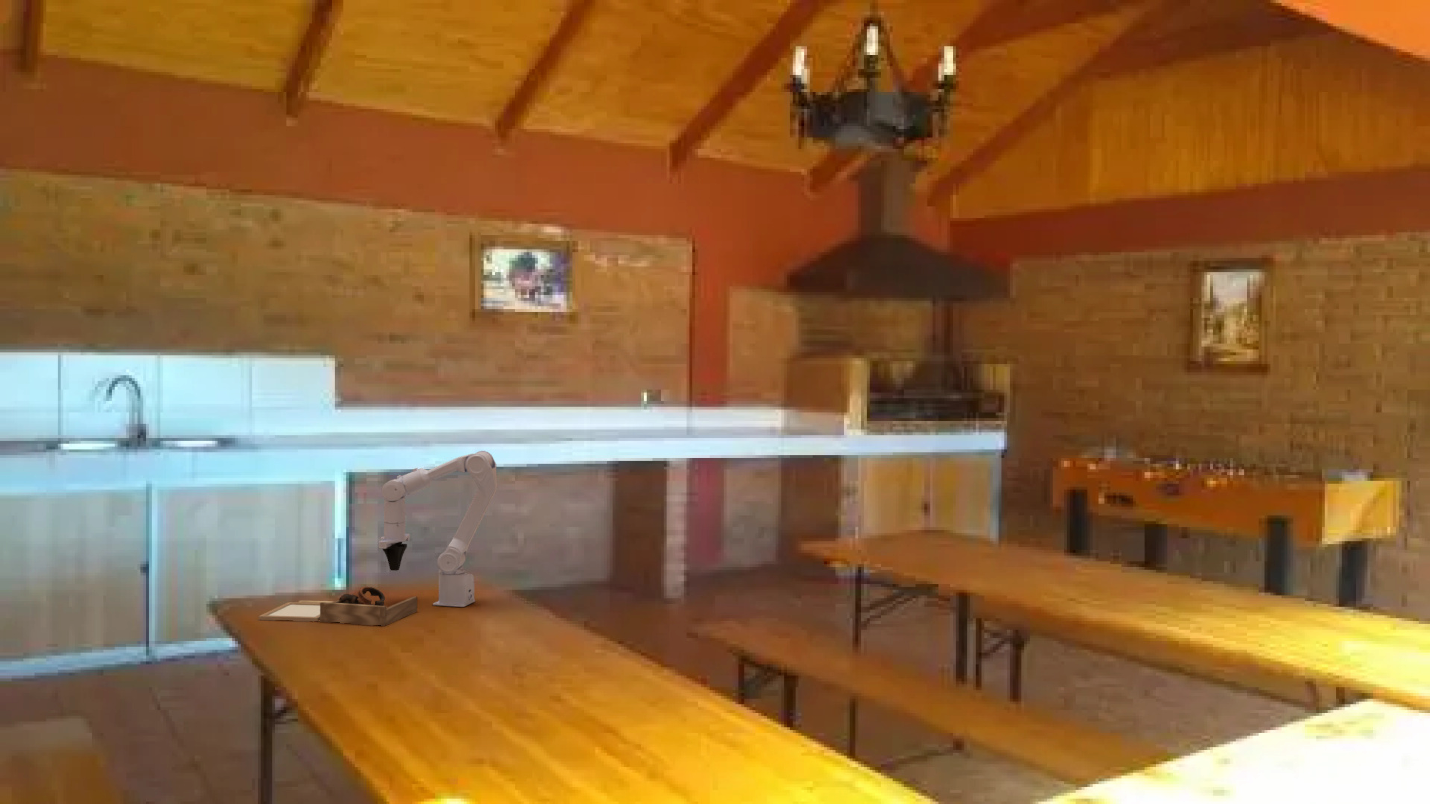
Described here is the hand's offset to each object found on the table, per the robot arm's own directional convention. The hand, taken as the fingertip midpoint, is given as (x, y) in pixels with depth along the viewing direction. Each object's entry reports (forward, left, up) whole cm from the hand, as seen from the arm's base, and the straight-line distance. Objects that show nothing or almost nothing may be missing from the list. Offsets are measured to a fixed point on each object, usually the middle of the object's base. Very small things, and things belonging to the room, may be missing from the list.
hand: (394, 570), depth 317 cm
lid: (+18, +17, -9) cm, 26 cm away
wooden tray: (-2, +16, -9) cm, 19 cm away
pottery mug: (+2, +15, -10) cm, 18 cm away
